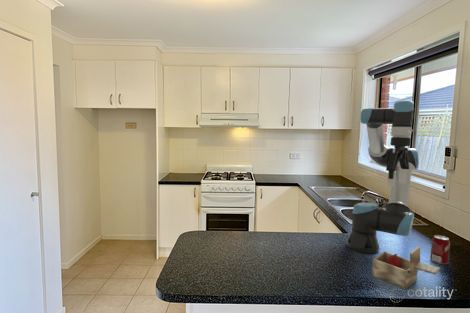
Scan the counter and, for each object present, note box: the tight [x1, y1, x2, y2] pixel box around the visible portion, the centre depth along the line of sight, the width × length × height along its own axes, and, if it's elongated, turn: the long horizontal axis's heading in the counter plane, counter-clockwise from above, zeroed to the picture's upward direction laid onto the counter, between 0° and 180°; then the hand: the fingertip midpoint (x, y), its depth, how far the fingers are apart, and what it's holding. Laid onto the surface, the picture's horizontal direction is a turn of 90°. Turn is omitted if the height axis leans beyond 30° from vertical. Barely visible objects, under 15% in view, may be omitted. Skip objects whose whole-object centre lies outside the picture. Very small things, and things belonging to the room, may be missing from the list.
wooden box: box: [371, 251, 419, 290], centre depth 114 cm, size 14×12×8 cm
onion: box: [386, 253, 402, 268], centre depth 117 cm, size 6×6×8 cm
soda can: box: [429, 234, 451, 265], centre depth 130 cm, size 7×7×12 cm
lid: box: [409, 246, 441, 275], centre depth 106 cm, size 7×10×8 cm
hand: (396, 184), depth 124 cm, fingers open, 13 cm apart
